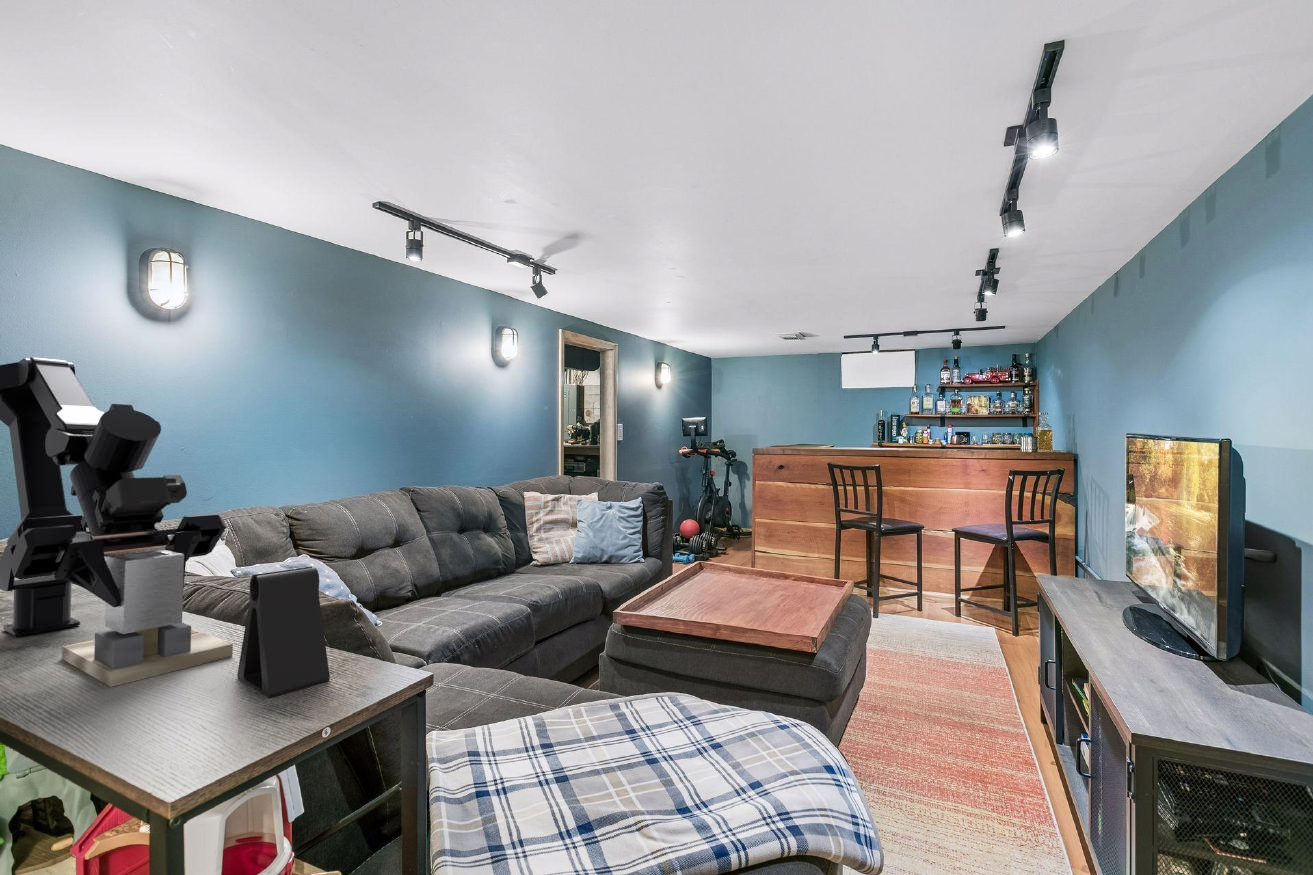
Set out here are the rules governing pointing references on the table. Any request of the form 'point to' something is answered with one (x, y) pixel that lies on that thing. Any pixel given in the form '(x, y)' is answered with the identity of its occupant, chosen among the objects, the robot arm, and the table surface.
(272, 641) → the phone stand
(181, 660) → the board
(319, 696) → the table surface
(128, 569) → the steel sleeve
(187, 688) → the table surface
